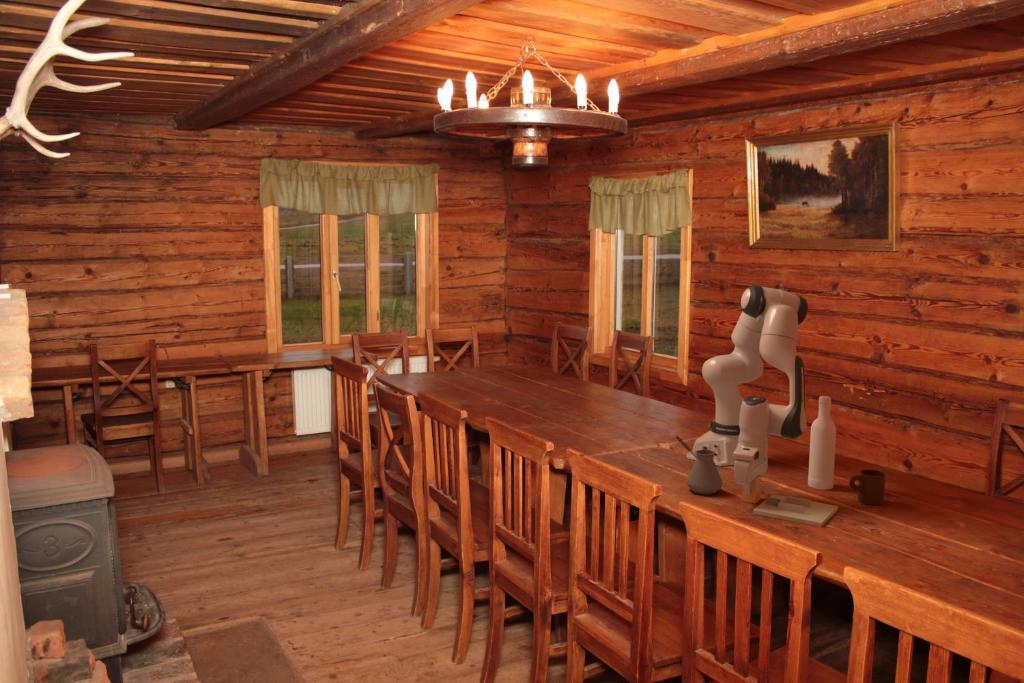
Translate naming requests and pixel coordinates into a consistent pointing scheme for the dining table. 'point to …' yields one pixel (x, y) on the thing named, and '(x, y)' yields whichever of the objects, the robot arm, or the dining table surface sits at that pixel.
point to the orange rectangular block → (752, 491)
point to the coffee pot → (703, 472)
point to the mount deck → (796, 510)
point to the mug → (869, 486)
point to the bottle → (822, 448)
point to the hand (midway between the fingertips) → (750, 491)
